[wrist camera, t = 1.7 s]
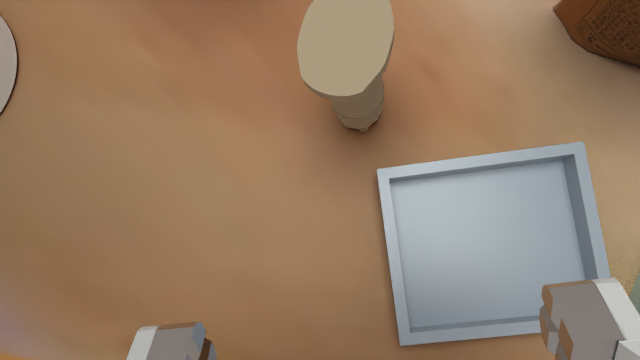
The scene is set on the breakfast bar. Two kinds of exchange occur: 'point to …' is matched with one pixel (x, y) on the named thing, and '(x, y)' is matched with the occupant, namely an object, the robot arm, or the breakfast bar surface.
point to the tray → (487, 240)
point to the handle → (347, 56)
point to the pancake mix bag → (604, 26)
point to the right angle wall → (636, 294)
